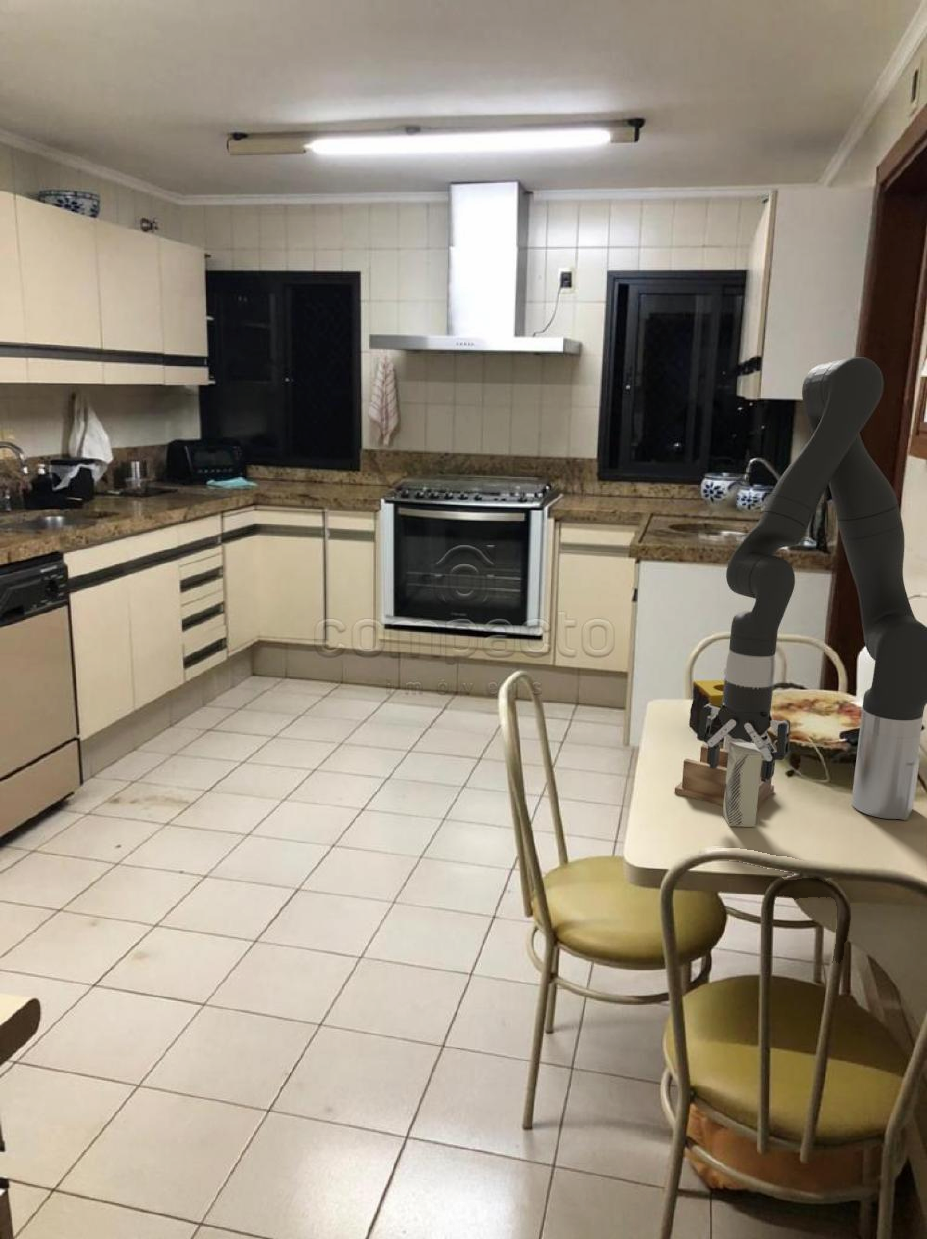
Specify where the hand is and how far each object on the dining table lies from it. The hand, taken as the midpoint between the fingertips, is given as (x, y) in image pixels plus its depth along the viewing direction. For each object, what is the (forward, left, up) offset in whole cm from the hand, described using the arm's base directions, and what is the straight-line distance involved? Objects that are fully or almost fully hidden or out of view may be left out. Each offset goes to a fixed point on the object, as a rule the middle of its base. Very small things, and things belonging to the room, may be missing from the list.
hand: (738, 773), depth 156 cm
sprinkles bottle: (+7, -21, -8) cm, 24 cm away
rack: (+5, -10, -8) cm, 14 cm away
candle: (+16, -39, -8) cm, 43 cm away
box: (-1, 0, -8) cm, 8 cm away
